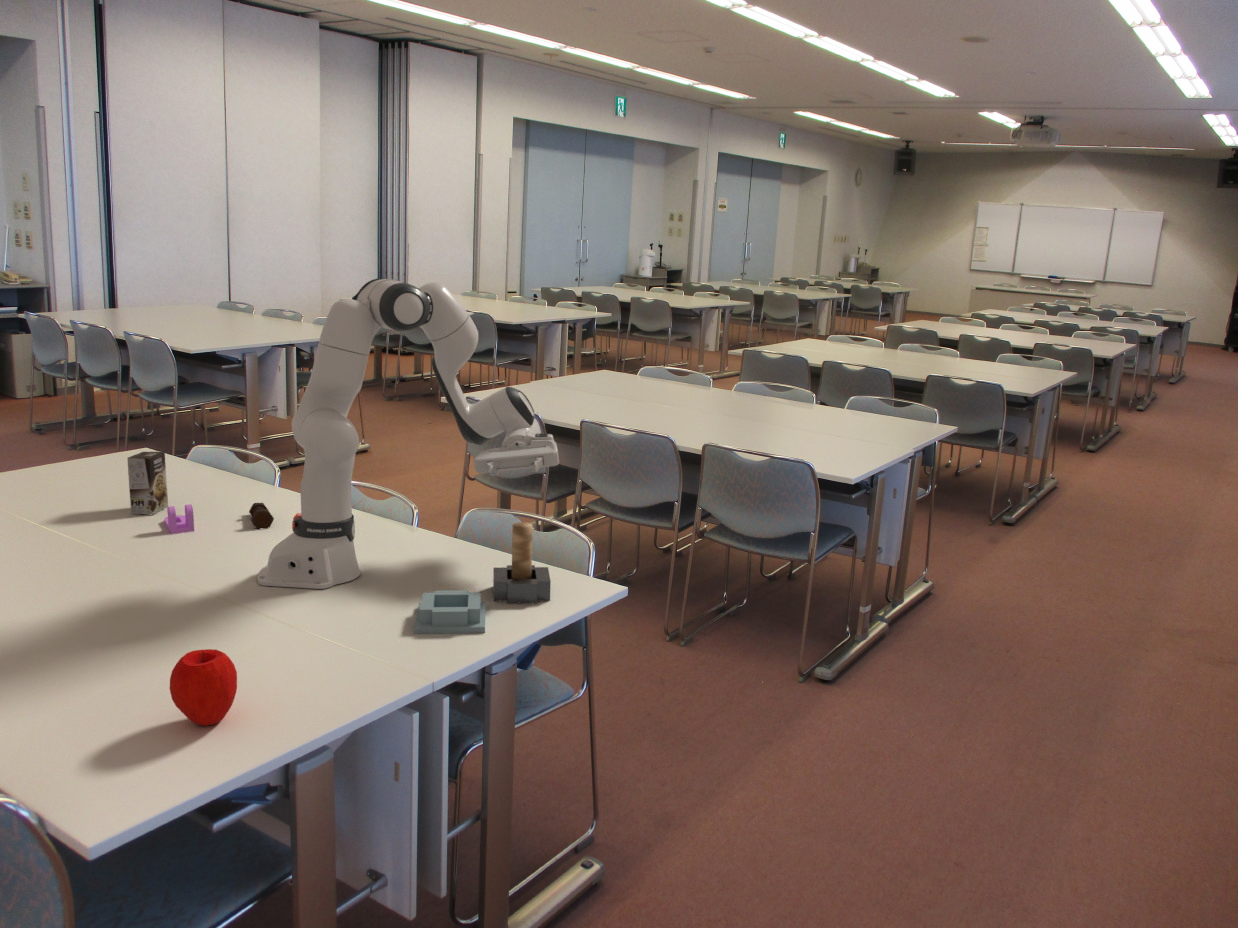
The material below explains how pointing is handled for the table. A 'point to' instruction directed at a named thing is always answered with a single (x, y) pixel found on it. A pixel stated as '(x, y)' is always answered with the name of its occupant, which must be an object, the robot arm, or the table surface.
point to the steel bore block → (521, 586)
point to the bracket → (185, 521)
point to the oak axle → (521, 550)
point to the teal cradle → (450, 613)
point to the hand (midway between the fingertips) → (513, 470)
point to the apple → (204, 686)
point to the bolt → (260, 516)
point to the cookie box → (147, 482)
